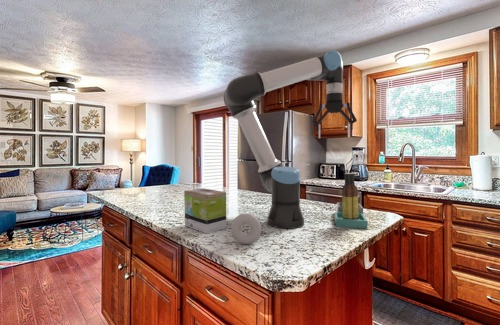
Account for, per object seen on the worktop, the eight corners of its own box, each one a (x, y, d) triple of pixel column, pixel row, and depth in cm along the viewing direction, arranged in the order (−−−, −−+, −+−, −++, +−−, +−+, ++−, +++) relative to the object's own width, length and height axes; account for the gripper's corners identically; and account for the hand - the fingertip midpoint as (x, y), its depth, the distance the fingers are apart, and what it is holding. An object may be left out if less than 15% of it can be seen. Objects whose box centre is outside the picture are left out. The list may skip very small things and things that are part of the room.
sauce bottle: (355, 218, 113) (356, 172, 112) (360, 222, 106) (361, 173, 106) (340, 218, 113) (340, 172, 112) (343, 222, 107) (344, 173, 106)
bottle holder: (337, 217, 119) (337, 206, 119) (336, 212, 129) (336, 202, 129) (363, 219, 116) (363, 208, 116) (359, 213, 127) (359, 203, 126)
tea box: (183, 226, 106) (183, 190, 105) (203, 221, 113) (203, 187, 113) (206, 234, 96) (206, 194, 95) (227, 228, 103) (227, 191, 102)
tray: (336, 226, 105) (336, 219, 105) (334, 218, 117) (334, 212, 117) (367, 228, 102) (367, 221, 102) (362, 220, 114) (362, 213, 114)
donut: (230, 245, 84) (230, 214, 84) (231, 241, 87) (231, 212, 87) (261, 246, 83) (261, 215, 83) (261, 242, 87) (261, 212, 86)
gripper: (307, 93, 126) (307, 137, 127) (363, 90, 119) (362, 136, 120) (308, 96, 133) (308, 138, 134) (361, 93, 127) (360, 137, 127)
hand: (333, 137), depth 127 cm, fingers open, 13 cm apart
